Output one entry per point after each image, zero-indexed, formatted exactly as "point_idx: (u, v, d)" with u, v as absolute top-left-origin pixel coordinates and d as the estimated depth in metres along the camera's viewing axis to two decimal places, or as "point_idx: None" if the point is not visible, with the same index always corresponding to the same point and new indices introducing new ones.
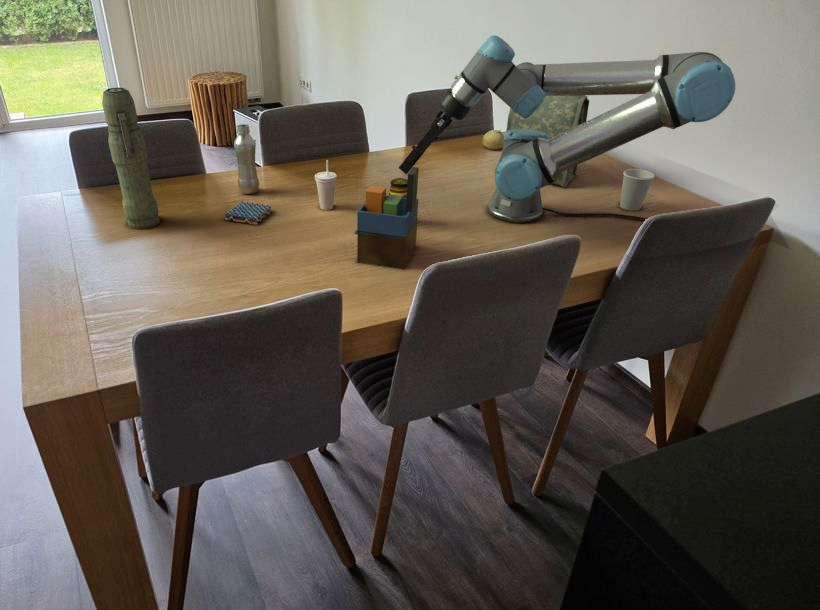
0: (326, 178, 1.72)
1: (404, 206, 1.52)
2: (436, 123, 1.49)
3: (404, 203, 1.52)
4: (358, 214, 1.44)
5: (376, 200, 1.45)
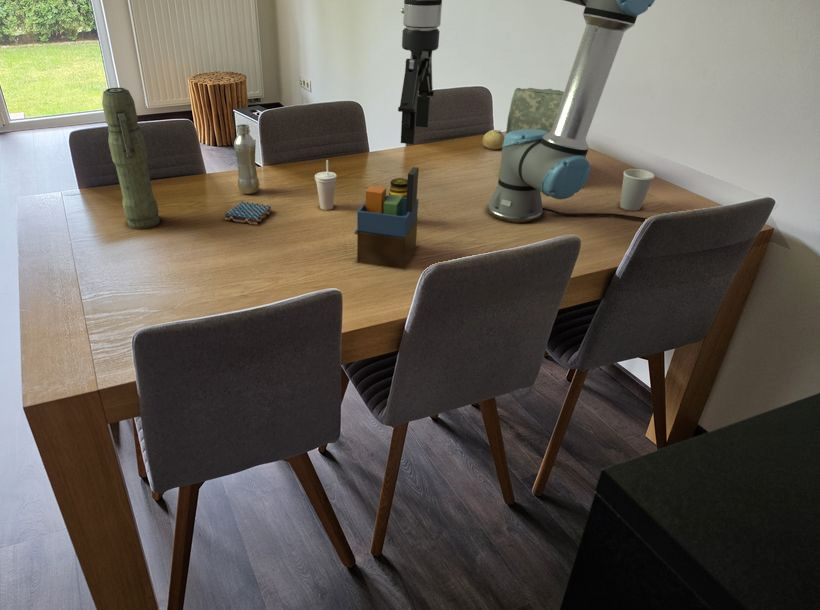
0: (326, 178, 1.72)
1: (404, 206, 1.52)
2: (407, 68, 1.22)
3: (404, 203, 1.52)
4: (358, 214, 1.44)
5: (376, 200, 1.45)
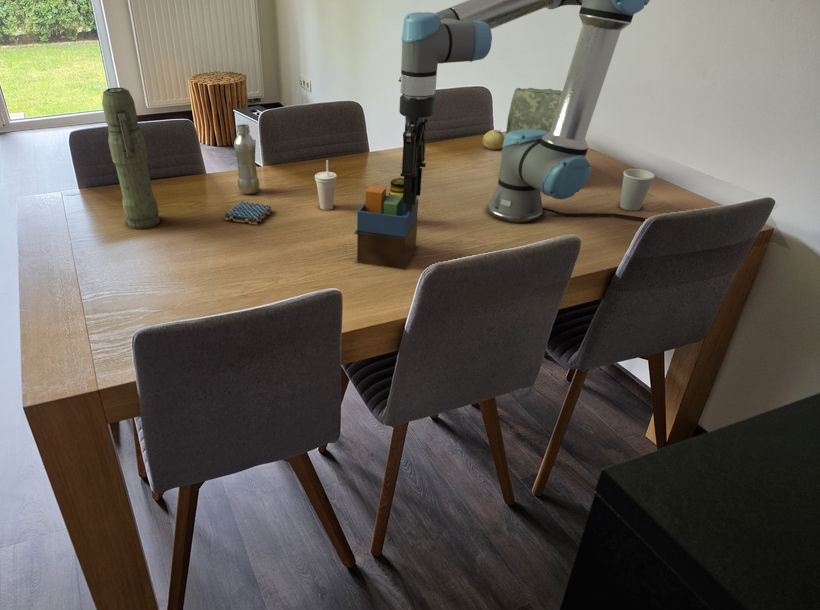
0: (326, 178, 1.72)
1: (404, 206, 1.52)
2: (405, 140, 1.31)
3: (404, 203, 1.52)
4: (358, 214, 1.44)
5: (376, 200, 1.45)
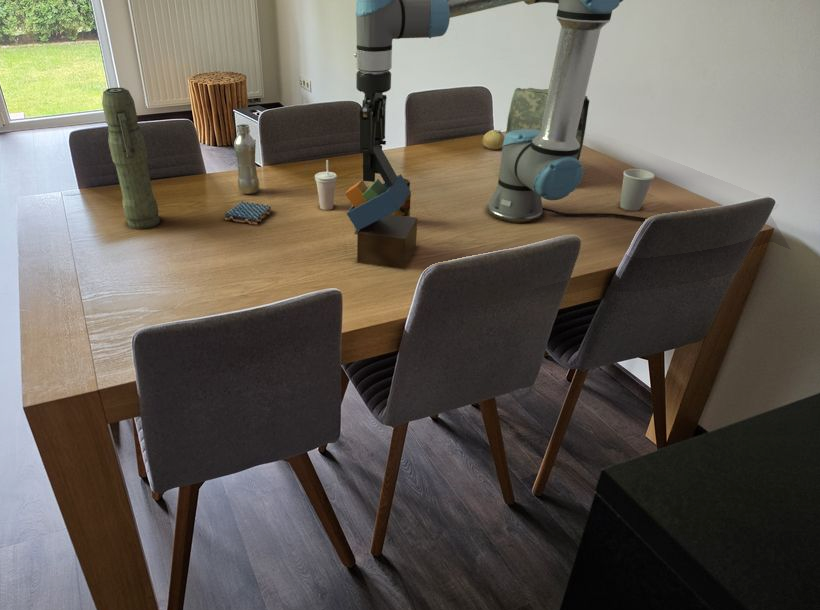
0: (326, 178, 1.72)
1: None
2: (361, 116, 1.31)
3: None
4: (348, 215, 1.45)
5: (357, 195, 1.46)
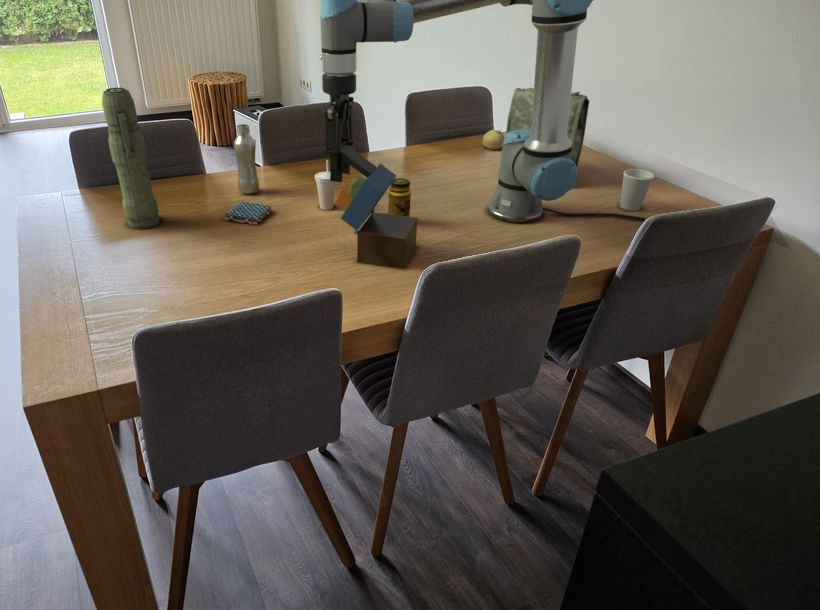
0: (326, 178, 1.72)
1: None
2: (327, 117, 1.34)
3: None
4: (343, 219, 1.46)
5: (345, 198, 1.48)
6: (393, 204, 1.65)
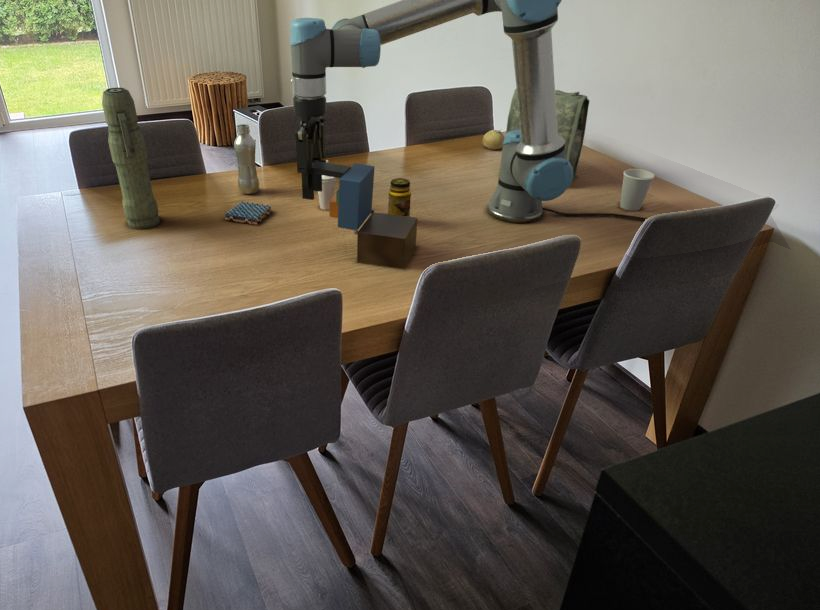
0: (326, 178, 1.72)
1: None
2: (297, 139, 1.38)
3: None
4: (340, 226, 1.48)
5: (337, 207, 1.50)
6: (393, 204, 1.65)
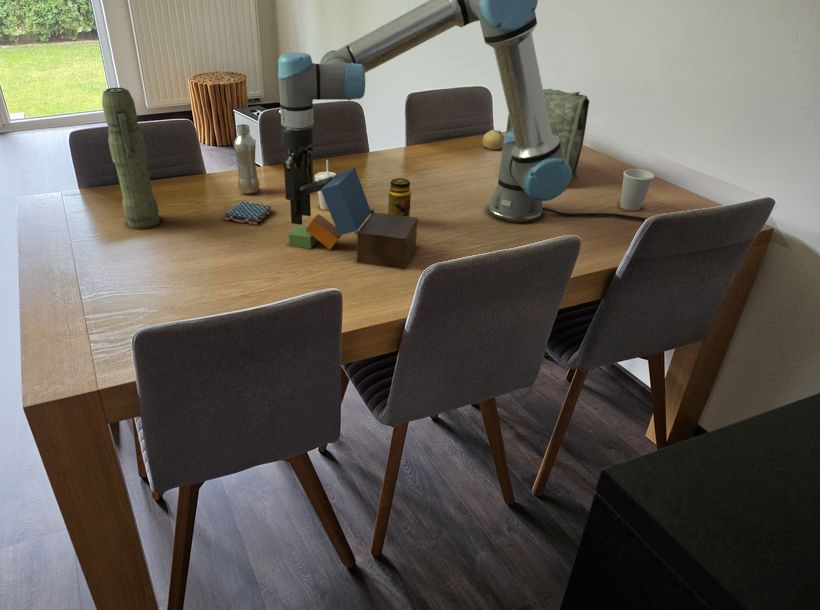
0: None
1: None
2: (285, 168, 1.43)
3: None
4: (341, 233, 1.49)
5: (326, 241, 1.56)
6: (393, 204, 1.65)
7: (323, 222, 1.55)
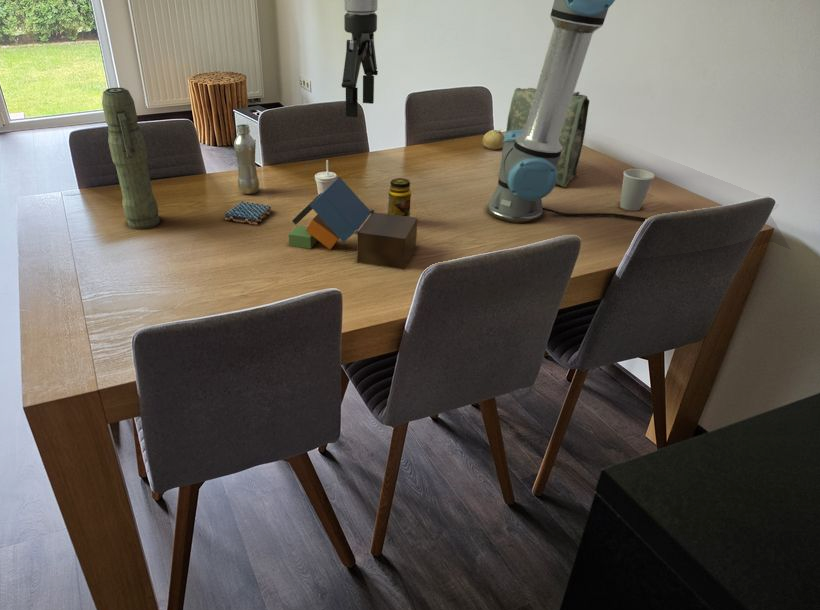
0: (326, 178, 1.72)
1: None
2: (348, 48, 1.38)
3: None
4: (344, 239, 1.49)
5: (326, 241, 1.56)
6: (393, 204, 1.65)
7: (323, 222, 1.55)
